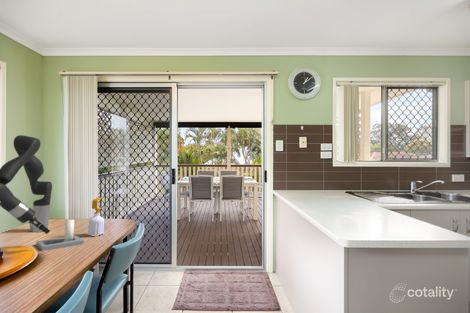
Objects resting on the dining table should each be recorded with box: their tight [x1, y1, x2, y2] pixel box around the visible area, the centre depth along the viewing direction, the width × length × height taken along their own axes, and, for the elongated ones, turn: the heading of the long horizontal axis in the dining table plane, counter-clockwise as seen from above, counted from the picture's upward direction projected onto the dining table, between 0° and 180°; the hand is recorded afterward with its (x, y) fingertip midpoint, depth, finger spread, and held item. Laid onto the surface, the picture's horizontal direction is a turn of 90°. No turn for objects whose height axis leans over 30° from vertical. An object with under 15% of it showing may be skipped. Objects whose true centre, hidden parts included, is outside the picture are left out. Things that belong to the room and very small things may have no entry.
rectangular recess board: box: [35, 235, 85, 252], centre depth 149 cm, size 20×14×2 cm
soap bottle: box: [87, 197, 105, 236], centre depth 171 cm, size 9×9×25 cm
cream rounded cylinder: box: [63, 219, 75, 242], centre depth 152 cm, size 4×4×13 cm
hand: (46, 230), depth 144 cm, fingers open, 8 cm apart
